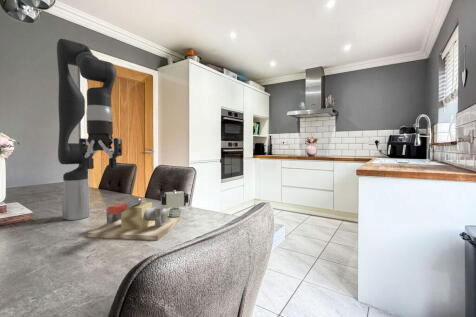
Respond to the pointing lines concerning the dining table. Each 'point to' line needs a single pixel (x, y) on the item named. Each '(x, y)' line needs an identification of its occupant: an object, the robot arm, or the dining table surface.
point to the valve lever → (123, 206)
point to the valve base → (134, 233)
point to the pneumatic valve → (174, 201)
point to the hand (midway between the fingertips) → (101, 169)
